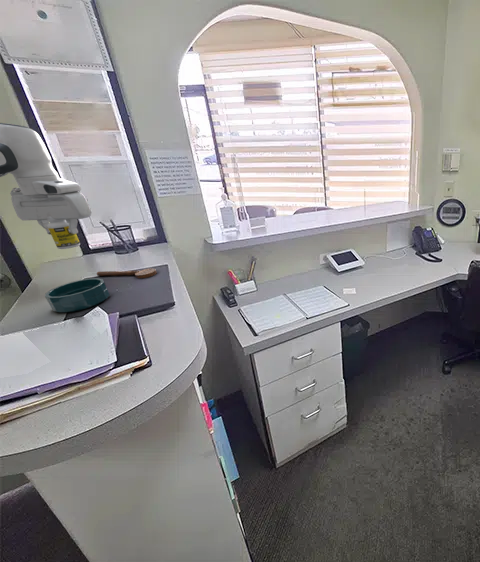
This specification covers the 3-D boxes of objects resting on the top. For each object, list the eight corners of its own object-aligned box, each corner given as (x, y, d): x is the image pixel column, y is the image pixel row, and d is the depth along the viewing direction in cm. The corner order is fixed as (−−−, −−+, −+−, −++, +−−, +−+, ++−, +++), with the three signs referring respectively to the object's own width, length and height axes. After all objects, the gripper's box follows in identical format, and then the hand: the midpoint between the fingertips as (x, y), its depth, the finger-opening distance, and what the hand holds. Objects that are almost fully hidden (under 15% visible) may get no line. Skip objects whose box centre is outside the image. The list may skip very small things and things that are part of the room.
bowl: (41, 314, 84) (31, 298, 81) (82, 293, 95) (75, 278, 93) (83, 313, 83) (75, 297, 81) (120, 292, 94) (114, 277, 92)
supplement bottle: (61, 250, 92) (45, 217, 88) (55, 248, 95) (39, 216, 91) (83, 245, 96) (69, 214, 92) (77, 243, 99) (63, 212, 95)
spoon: (90, 279, 105) (88, 275, 104) (105, 272, 111) (103, 268, 110) (148, 278, 104) (147, 273, 103) (160, 271, 109) (159, 267, 108)
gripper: (-5, 189, 86) (20, 237, 92) (64, 187, 85) (85, 235, 90) (20, 186, 92) (42, 231, 97) (84, 184, 91) (103, 230, 96)
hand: (63, 233), depth 94 cm, fingers closed on supplement bottle, 5 cm apart
